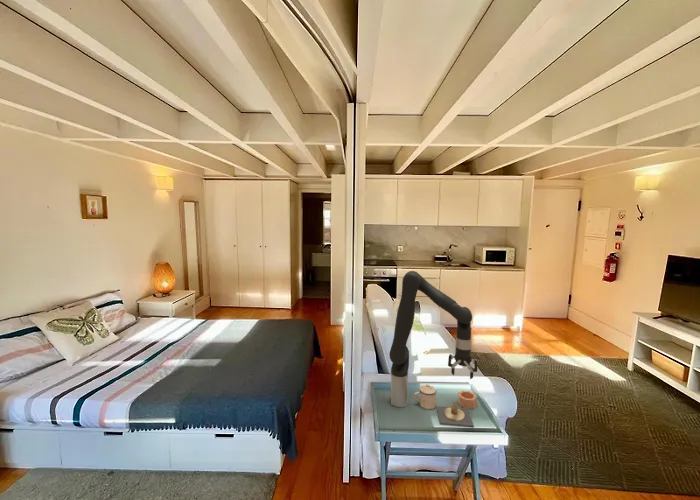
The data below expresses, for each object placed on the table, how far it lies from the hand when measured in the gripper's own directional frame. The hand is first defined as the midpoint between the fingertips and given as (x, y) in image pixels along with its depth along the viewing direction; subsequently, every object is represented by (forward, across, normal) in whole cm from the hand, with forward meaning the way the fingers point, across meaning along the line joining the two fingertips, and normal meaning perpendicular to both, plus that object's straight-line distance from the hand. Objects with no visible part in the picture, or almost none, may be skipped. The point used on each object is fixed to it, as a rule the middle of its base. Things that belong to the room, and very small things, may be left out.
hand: (462, 376), depth 159 cm
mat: (+20, -3, -5) cm, 21 cm away
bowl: (+20, +2, +10) cm, 23 cm away
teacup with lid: (+21, -19, 0) cm, 28 cm away
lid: (+20, -3, -5) cm, 20 cm away
